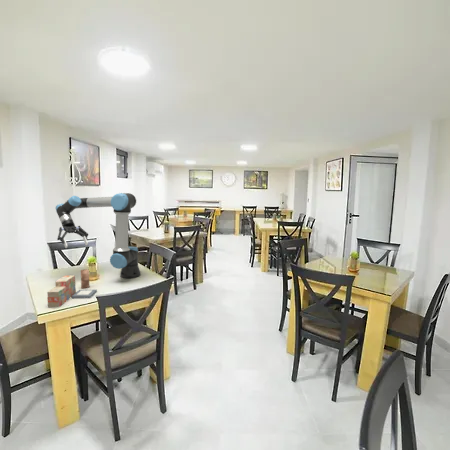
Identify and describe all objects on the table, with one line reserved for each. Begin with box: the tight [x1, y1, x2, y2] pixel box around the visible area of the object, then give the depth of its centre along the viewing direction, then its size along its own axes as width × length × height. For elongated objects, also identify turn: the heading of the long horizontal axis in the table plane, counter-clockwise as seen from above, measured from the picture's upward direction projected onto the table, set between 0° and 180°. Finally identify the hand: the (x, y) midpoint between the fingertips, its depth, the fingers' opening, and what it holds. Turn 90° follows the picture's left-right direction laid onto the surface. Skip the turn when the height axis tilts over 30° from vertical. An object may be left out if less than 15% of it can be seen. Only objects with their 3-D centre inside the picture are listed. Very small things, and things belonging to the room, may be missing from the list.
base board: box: [71, 289, 98, 300], centre depth 175 cm, size 11×11×2 cm
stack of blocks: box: [46, 274, 77, 308], centre depth 166 cm, size 21×6×12 cm, turn 5°
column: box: [80, 269, 91, 290], centre depth 188 cm, size 5×5×12 cm
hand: (77, 245), depth 192 cm, fingers open, 13 cm apart
